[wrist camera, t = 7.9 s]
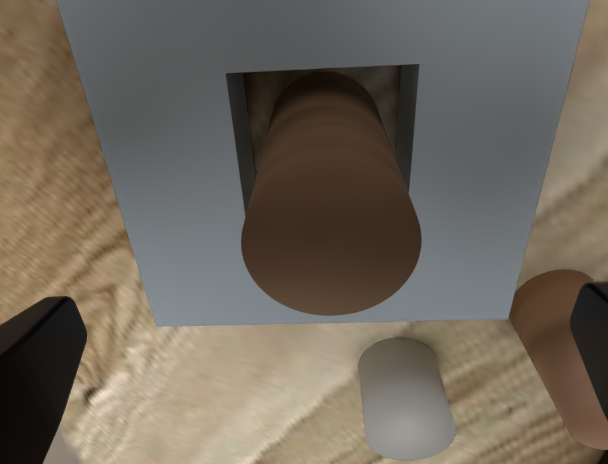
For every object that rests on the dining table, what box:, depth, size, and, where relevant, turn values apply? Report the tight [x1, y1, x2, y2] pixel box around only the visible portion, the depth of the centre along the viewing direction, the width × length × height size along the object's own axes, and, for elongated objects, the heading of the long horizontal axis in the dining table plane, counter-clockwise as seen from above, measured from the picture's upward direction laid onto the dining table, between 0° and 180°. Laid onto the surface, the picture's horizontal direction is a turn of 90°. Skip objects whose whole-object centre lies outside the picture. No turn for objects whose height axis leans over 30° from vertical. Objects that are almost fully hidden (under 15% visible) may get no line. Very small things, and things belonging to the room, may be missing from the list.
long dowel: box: [241, 72, 422, 316], centre depth 13 cm, size 4×4×8 cm
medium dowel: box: [509, 270, 608, 450], centre depth 19 cm, size 4×4×6 cm
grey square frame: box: [56, 0, 589, 327], centre depth 15 cm, size 14×14×3 cm
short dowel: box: [359, 338, 456, 461], centre depth 22 cm, size 4×4×4 cm
